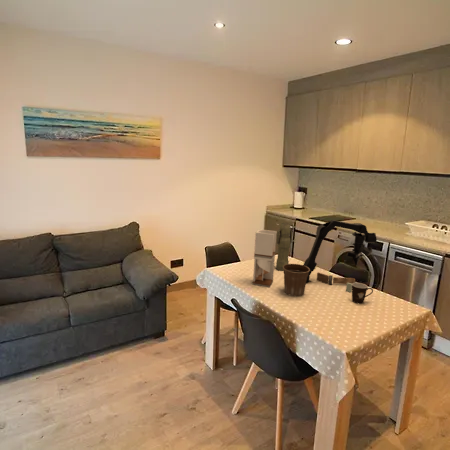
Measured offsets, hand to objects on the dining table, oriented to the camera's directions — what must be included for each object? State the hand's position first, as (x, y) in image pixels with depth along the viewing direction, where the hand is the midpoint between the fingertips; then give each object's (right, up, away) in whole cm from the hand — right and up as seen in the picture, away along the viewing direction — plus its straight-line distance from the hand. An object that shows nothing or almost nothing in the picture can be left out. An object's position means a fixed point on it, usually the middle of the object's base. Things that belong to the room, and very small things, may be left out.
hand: (356, 264), depth 223 cm
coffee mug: (-9, -19, -28) cm, 35 cm away
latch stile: (-10, -16, -13) cm, 23 cm away
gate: (-9, -12, -2) cm, 16 cm away
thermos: (-46, -7, +25) cm, 53 cm away
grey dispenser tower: (-64, -12, -5) cm, 65 cm away
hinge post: (-21, -12, +1) cm, 25 cm away
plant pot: (-46, -15, -18) cm, 51 cm away
